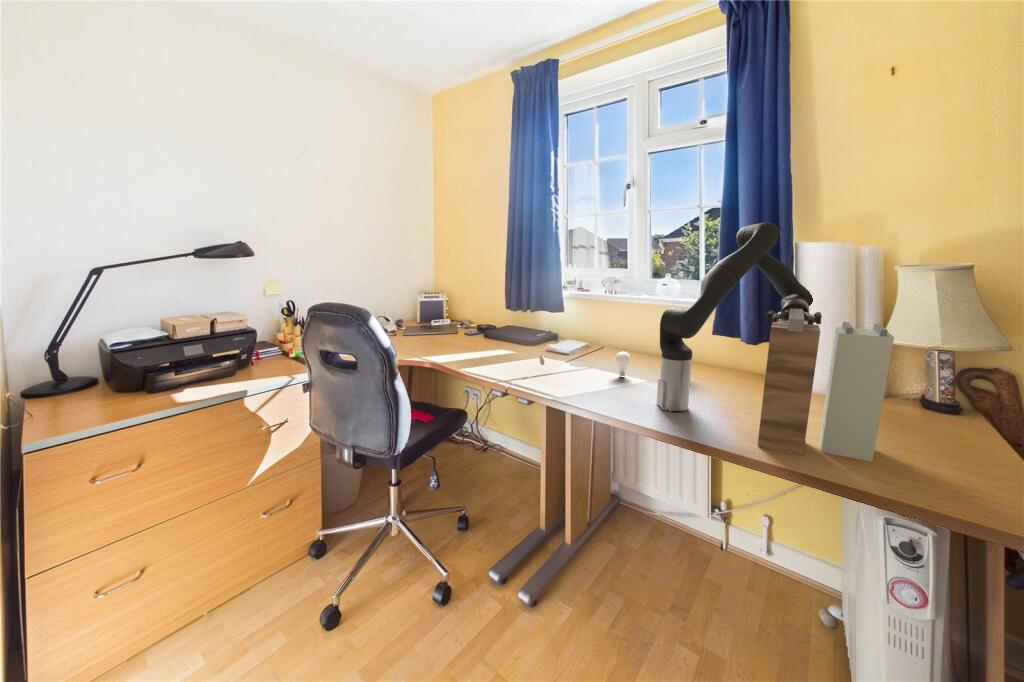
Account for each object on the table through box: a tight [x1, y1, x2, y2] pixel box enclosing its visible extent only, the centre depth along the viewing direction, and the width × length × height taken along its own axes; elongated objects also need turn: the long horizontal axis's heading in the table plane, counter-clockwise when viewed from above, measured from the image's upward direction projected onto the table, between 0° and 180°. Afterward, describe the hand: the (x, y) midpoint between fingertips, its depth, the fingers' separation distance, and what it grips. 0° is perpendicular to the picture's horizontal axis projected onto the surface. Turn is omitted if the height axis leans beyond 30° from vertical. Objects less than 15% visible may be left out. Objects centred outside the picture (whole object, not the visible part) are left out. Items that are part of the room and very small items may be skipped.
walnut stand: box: [757, 322, 821, 456], centre depth 109 cm, size 10×10×32 cm
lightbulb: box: [614, 351, 632, 377], centre depth 173 cm, size 6×6×11 cm
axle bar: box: [788, 308, 804, 332], centre depth 107 cm, size 22×3×3 cm, turn 146°
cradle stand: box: [819, 321, 895, 463], centre depth 105 cm, size 10×10×32 cm
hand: (791, 322), depth 126 cm, fingers open, 8 cm apart
